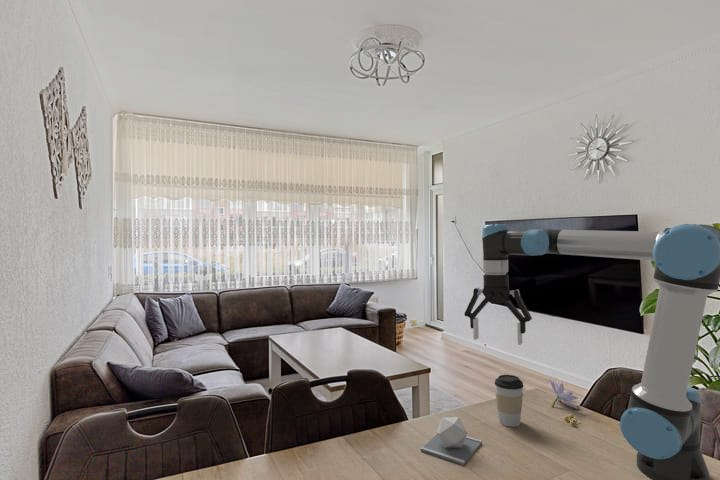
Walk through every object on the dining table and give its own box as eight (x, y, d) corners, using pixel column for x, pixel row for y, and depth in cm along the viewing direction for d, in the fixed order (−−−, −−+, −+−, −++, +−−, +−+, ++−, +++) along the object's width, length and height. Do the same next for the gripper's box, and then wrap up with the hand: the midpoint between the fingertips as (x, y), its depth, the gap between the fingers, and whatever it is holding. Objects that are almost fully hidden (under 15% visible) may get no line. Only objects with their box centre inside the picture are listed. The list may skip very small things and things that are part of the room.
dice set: (572, 428, 134) (572, 422, 134) (560, 422, 139) (560, 416, 139) (584, 425, 136) (584, 420, 136) (571, 419, 140) (571, 413, 140)
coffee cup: (489, 419, 140) (488, 374, 140) (509, 413, 144) (508, 370, 144) (509, 430, 132) (508, 383, 132) (530, 424, 136) (529, 378, 136)
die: (461, 458, 116) (475, 426, 119) (433, 441, 118) (448, 409, 120) (454, 454, 124) (468, 423, 127) (428, 438, 125) (443, 408, 128)
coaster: (481, 443, 124) (481, 440, 124) (463, 465, 113) (463, 462, 113) (441, 431, 132) (441, 429, 132) (420, 451, 120) (420, 448, 120)
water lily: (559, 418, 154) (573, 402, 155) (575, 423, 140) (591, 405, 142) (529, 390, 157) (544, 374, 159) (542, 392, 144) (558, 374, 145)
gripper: (540, 273, 127) (542, 343, 127) (461, 271, 141) (463, 334, 141) (535, 275, 120) (537, 348, 121) (453, 273, 134) (455, 339, 134)
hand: (497, 341), depth 131 cm, fingers open, 13 cm apart
